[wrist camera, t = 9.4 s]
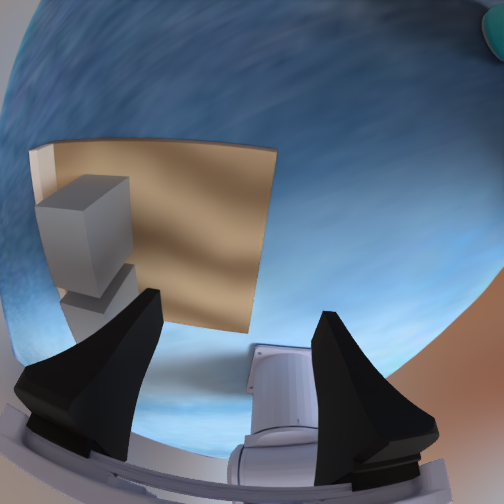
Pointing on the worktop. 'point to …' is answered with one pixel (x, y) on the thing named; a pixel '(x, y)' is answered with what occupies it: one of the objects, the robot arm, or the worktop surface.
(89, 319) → the faced box
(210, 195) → the shelf board
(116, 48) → the worktop surface
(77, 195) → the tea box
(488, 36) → the beverage can
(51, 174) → the rail
